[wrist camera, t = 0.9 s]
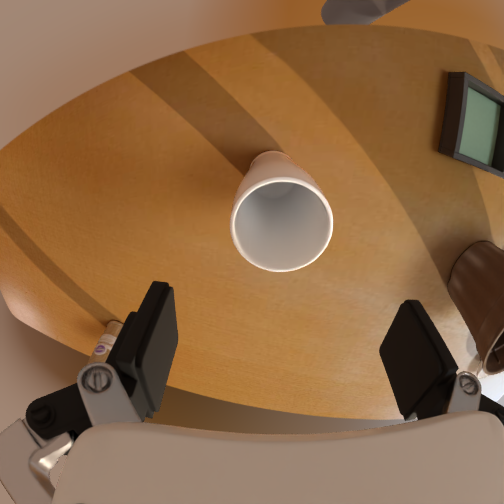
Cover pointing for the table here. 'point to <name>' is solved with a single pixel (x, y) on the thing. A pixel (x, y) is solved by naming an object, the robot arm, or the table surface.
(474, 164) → the cup holder
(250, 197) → the white tapered cylinder
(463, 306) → the plant pot
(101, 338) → the sprinkles bottle
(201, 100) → the table surface
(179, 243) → the table surface
